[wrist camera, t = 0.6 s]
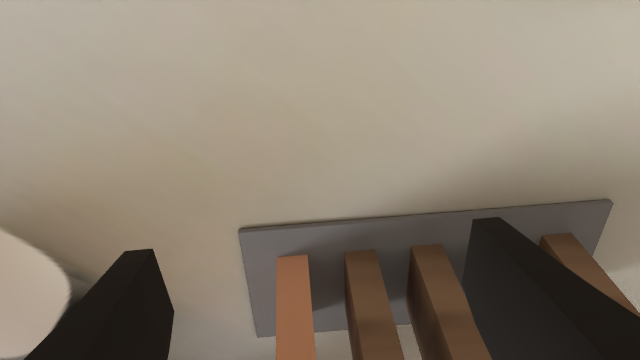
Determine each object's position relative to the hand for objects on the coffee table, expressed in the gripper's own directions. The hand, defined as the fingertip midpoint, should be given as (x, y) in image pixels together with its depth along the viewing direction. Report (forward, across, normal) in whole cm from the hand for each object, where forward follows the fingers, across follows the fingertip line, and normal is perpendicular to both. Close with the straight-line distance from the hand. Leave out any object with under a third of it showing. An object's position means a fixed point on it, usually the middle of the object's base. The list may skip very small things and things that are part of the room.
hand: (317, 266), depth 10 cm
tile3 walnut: (+10, -6, +11) cm, 16 cm away
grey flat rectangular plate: (+10, -6, +11) cm, 16 cm away
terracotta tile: (+10, +1, +11) cm, 14 cm away
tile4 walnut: (+10, -2, +11) cm, 15 cm away
